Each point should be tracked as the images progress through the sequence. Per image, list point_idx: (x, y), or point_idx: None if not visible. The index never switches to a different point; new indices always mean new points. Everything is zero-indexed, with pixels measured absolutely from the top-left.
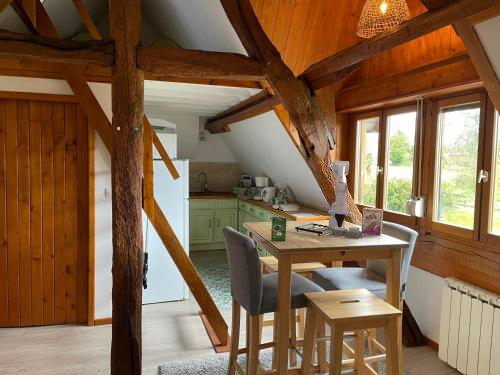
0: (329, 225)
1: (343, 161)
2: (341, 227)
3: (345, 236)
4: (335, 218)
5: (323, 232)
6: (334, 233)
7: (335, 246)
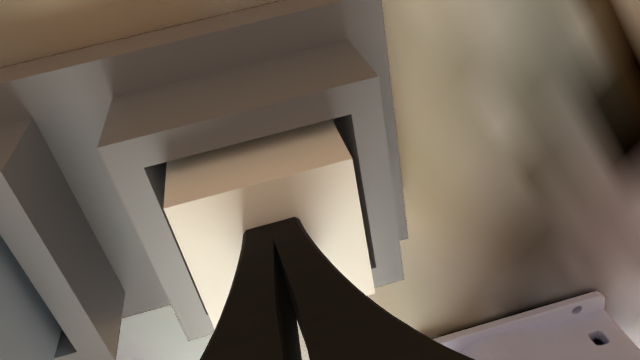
0: (629, 355)
1: None
2: (215, 250)
3: (55, 129)
4: (417, 331)
5: (598, 171)
6: (286, 64)
7: None
